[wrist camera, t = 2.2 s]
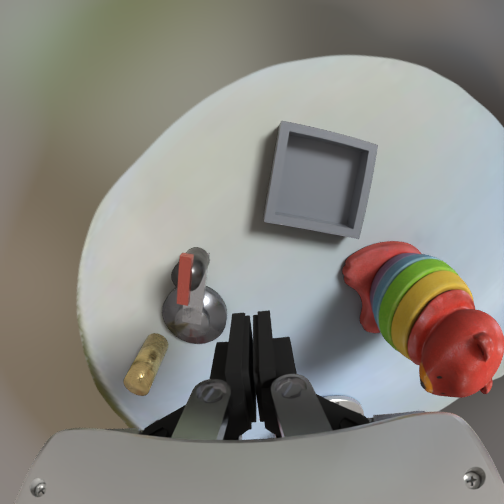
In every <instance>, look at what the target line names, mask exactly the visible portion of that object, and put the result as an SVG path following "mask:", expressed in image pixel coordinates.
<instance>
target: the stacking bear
mask: <svg viewBox="0 0 504 504" xmlns="http://www.w3.org/2000/svg"><path fill="white" fill-rule="evenodd" d="M345 263H346V264H345V266H344V267H343V270H342V273H343V275H344V281H345V283H346V284H347V285H348V286H350V287H351V288H353V289H355V290H356V291H357V292H358V294H359V295H360V297H361V300H362V311H361V315H360V323H361V324H362V325H363V328H364V329H365V330H366V331H367V332H372V333H380V332H381V334H382V335H383V337H384V339H385V340H386V341H387V342H388V343H389V344H390V345H391V346H392V347H393V348H394V349H396V350H397V351H398V352H400V353H401V354H402V355H404V356H405V357H406V358H408V359H410V360H411V361H413V362H414V363H415V364H417V365H420V367H419V374H420V382H421V386H422V387H423V388H424V389H425V390H426V391H427V392H430V393H432V394H434V395H439V396H448V397H466V396H469V395H472V394H474V393H476V392H477V391H479V390H480V391H481V392H482V393H483V394H487V393H488V392H489V391H490V389H491V387H492V377H493V376H494V374H495V373H496V371H497V369H498V367H499V365H500V363H501V360H502V357H503V353H504V336H503V333H502V330H501V328H500V326H499V324H498V323H497V322H496V320H495V319H494V318H492V317H491V316H490V315H488V314H487V313H485V312H482V311H480V310H475V306H474V302H473V297H472V294H471V291H470V290H469V288H468V286H467V285H466V284H465V282H464V281H463V280H462V279H461V278H460V277H459V275H458V274H457V273H456V272H455V271H454V270H453V269H452V268H451V267H450V266H449V265H447V264H446V263H445V262H443V261H441V260H440V259H438V258H435V257H432V256H429V255H424V254H421V252H420V251H419V250H418V249H417V248H415V247H414V246H412V245H411V244H408V243H405V242H398V241H388V242H380V243H376V244H373V245H370V246H367V247H365V248H362V249H361V250H359V251H357V252H355V253H354V254H352V255H351V256H350V257H348V258H347V260H346V262H345Z"/></svg>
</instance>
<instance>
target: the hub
mask: <svg viewBox="0 0 504 504" xmlns="http://www.w3.org/2000/svg"><path fill="white" fill-rule="evenodd" d="M177 289H178V288H177V287H176V288H175V289H174V290H172V292H171V293H170V294H169V296H168V297H167V299H166V300H165V302H164V305H163V319H164V322H165V324H166V326H167V327H168V329H169V330H170V331H171V332H172V333H173V334H174V335H175V336H176V337H178V338H180V339H181V340H184V341H186V342H189V343H195V344H202V343H208V342H211V341H213V340H215V339H216V338H218V337H219V336H220V335H221V333H222V332H223V330H224V328H225V325H226V320H227V308H226V305H225V303H224V301H223V299H222V298H221V296H220V295H219V294H218V293H217V292H216V291H214V290H213V289H211V288H210V287H208V286H206V290H205V299H204V309H205V310H206V311H207V312H208V314H209V317H210V323H209V327H208V330H207V332H206V333H205V334H204V335H202V336H200V337H188V336H186V335H184V334H182V333H181V332H180V331H179V330H178V329H177V327H176V325H175V316H176V314H177V312H178V310H179V308H180V307H182V306H183V305H181V304H177Z"/></svg>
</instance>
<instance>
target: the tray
mask: <svg viewBox="0 0 504 504" xmlns="http://www.w3.org/2000/svg"><path fill="white" fill-rule="evenodd" d="M377 148H378V145H376V144H373V143H370V142H367V141H363V140H360V139H357V138H353V137H350V136H346V135H342V134H338V133H335V132H331V131H327V130H323V129H318V128H314V127H310V126H305V125H301V124H296V123H291V122H286V121H281V123H280V125H279V129H278V135H277V140H276V146H275V152H274V158H273V164H272V170H271V175H270V181H269V187H268V193H267V198H266V204H265V210H264V216H263V218H264V222H267V223H273V224H279V225H285V226H291V227H297V228H302V229H308V230H313V231H319V232H324V233H330V234H335V235H340V236H346V237H351V238H356V239H359V237H360V233H361V229H362V225H363V221H364V216H365V212H366V207H367V202H368V198H369V193H370V188H371V183H372V177H373V172H374V166H375V160H376V154H377Z"/></svg>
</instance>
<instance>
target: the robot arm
mask: <svg viewBox="0 0 504 504" xmlns="http://www.w3.org/2000/svg"><path fill="white" fill-rule="evenodd" d="M256 396H257V403H258V410H259V416H260V422H265V428H266V429H267V430H269V431H270V432H272V433H274V434H275V438H270V439H253V440H242V434H243V433H245V432H246V431H247V430H249V429H251V422H256ZM14 504H504V484H503V482H502V479H501V477H500V475H499V473H498V471H497V469H496V467H495V465H494V463H493V461H492V459H491V457H490V455H489V453H488V452H487V450H486V448H485V447H484V445H483V444H482V442H481V440H480V439H479V437H478V436H477V434H476V433H475V432H474V430H473V429H472V428H471V427H470V426H469V425H468V423H467V422H466V421H465V420H463V419H462V418H461V417H459V416H457V415H455V414H452V413H446V412H425V411H413V412H404V413H395V414H383V415H373V418H366V417H365V416H364V413H363V409H362V406H361V405H360V403H359V402H358V401H356V400H355V399H353V398H350V397H346V396H326V397H321V396H319V395H317V394H315V391H314V389H313V387H312V385H311V383H310V382H309V380H308V379H307V378H305V377H304V376H301V375H298V374H296V368H295V363H294V358H293V352H292V347H291V342H290V337H283V338H272V328H271V318H270V311H259V312H258V315H253V338H252V330H251V322H250V316H245V313H235V314H232V320H231V328H230V335H229V342H217V344H216V348H215V353H214V359H213V364H212V369H211V375H210V379H209V380H205V381H202V382H200V383H199V384H197V385H196V386H195V387H194V389H193V390H192V393H191V395H190V397H189V399H188V401H187V404H186V405H184V406H183V407H181V408H179V409H178V410H176V411H174V412H172V413H171V414H169V415H167V416H165V417H164V418H162V419H160V420H158V421H156V422H155V423H153V424H151V425H149V426H148V427H146V428H145V429H144V430H140V429H139V428H128V429H96V428H73V429H66V430H62V431H59V432H57V433H55V434H54V435H52V436H51V437H50V438H49V439H48V440H47V442H46V443H45V444H44V446H43V447H42V449H41V450H40V452H39V454H38V455H37V457H36V458H35V460H34V462H33V464H32V466H31V467H30V469H29V471H28V473H27V475H26V477H25V480H24V482H23V484H22V486H21V489H20V491H19V493H18V496H17V498H16V501H15V503H14Z"/></svg>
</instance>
